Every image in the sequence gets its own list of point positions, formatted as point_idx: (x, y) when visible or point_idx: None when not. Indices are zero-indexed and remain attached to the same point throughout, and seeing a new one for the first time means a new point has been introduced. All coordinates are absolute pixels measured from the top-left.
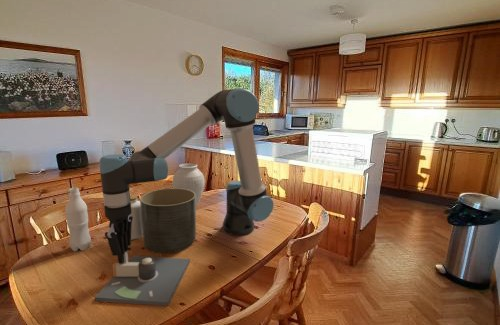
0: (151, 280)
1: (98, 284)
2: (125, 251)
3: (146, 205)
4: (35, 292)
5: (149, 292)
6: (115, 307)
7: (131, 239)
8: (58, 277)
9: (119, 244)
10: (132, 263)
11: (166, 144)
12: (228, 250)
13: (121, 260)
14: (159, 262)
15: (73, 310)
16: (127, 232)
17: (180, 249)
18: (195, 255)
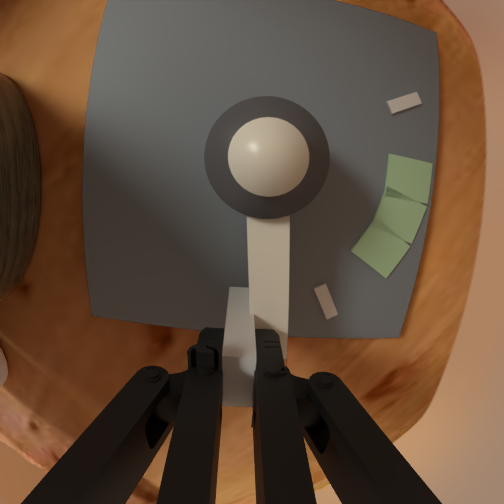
0: None
1: (296, 367)
2: (226, 367)
3: None
4: (316, 475)
5: (398, 110)
6: (436, 237)
7: (3, 353)
8: (252, 471)
9: (359, 457)
10: (264, 269)
11: None
12: None
13: (280, 348)
14: (129, 140)
15: (418, 364)
16: (111, 476)
17: (19, 93)
18: (65, 10)
